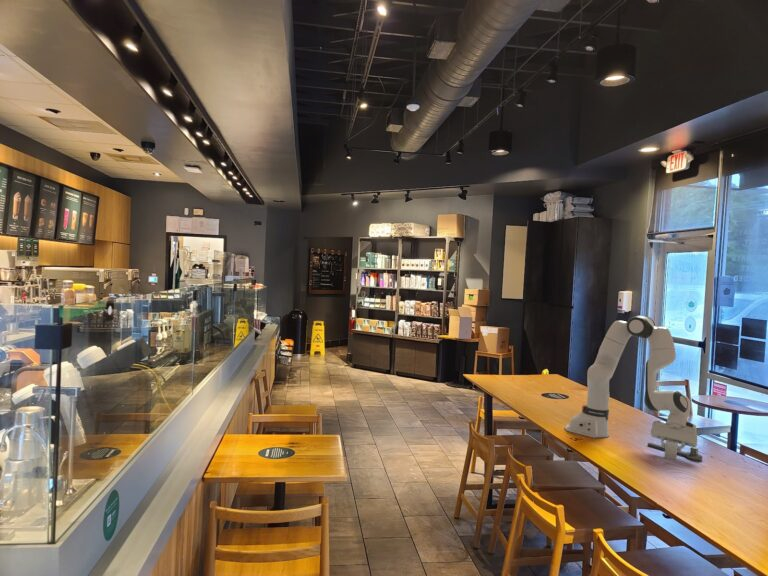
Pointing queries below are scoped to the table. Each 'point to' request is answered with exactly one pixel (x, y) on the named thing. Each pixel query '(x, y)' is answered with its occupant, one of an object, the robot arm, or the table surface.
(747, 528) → the table surface
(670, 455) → the tan wooden block
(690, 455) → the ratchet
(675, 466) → the table surface
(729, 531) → the table surface
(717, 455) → the table surface
